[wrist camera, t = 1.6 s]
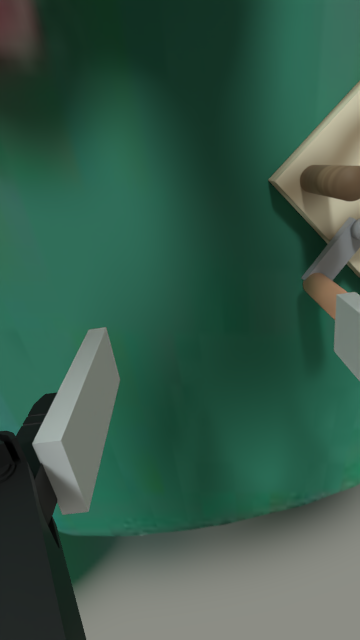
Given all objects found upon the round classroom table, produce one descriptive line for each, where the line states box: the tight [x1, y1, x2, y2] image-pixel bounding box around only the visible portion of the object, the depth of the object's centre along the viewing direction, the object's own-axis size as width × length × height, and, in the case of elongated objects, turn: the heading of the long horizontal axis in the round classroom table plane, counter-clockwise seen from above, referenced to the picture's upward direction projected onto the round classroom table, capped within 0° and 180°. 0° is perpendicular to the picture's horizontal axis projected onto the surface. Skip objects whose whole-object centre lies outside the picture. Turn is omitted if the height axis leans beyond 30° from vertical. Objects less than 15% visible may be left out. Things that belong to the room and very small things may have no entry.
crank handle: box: [301, 217, 360, 320], centre depth 31 cm, size 9×2×8 cm, turn 148°
